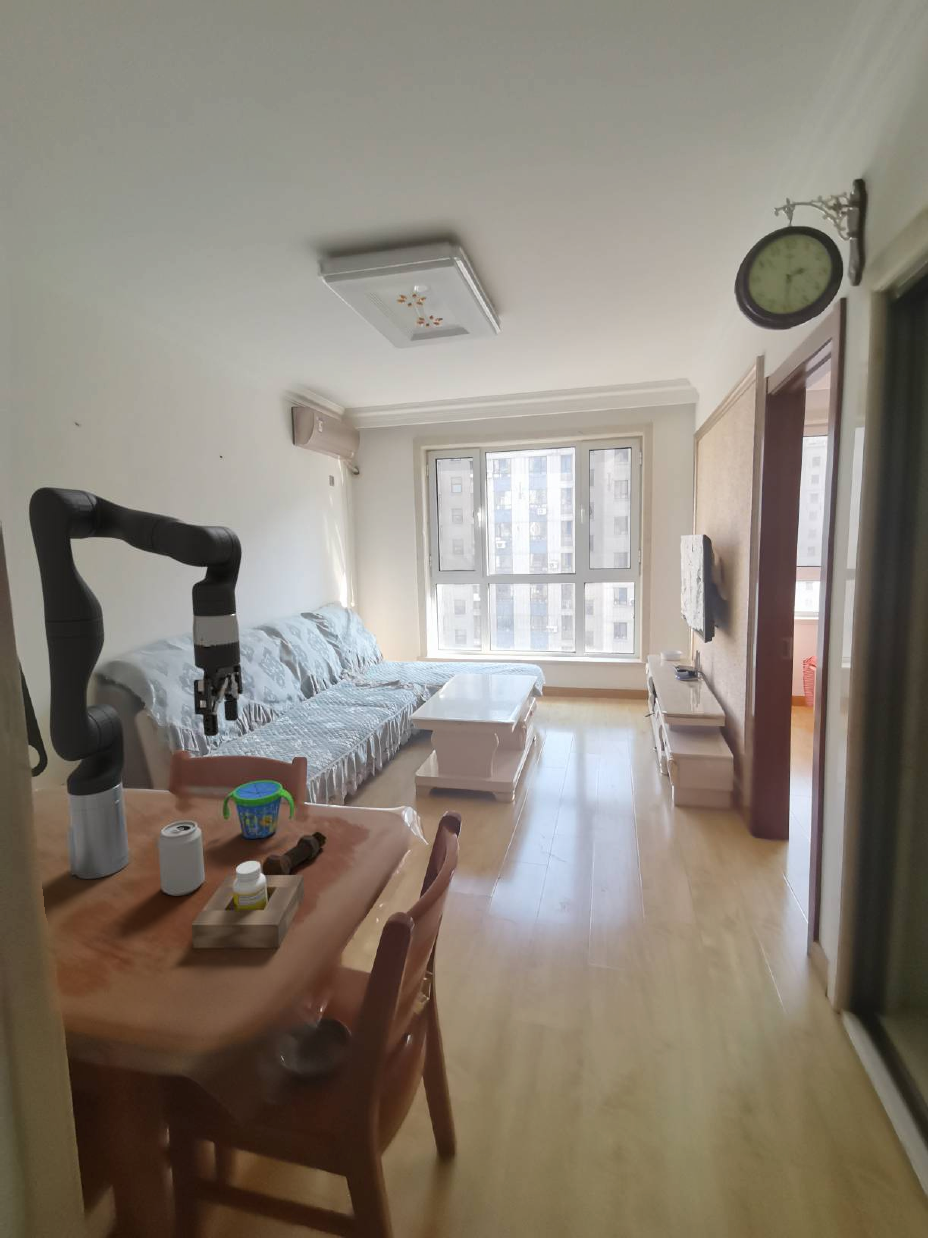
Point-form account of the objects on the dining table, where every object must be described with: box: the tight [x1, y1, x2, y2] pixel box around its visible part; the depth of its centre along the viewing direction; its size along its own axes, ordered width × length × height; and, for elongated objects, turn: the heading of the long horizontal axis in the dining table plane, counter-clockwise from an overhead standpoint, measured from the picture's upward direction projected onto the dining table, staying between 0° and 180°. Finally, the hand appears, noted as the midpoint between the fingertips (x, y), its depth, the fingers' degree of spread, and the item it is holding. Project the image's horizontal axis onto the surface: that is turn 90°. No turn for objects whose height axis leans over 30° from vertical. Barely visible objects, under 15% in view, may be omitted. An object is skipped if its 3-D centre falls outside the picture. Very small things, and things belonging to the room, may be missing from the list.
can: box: [157, 820, 206, 897], centre depth 110 cm, size 8×8×12 cm
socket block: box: [190, 874, 305, 949], centre depth 100 cm, size 14×14×4 cm
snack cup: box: [222, 780, 295, 839], centre depth 131 cm, size 16×10×10 cm
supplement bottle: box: [233, 860, 268, 910], centre depth 100 cm, size 5×5×10 cm
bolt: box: [261, 830, 327, 875], centre depth 118 cm, size 6×5×15 cm
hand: (221, 727), depth 105 cm, fingers open, 8 cm apart
